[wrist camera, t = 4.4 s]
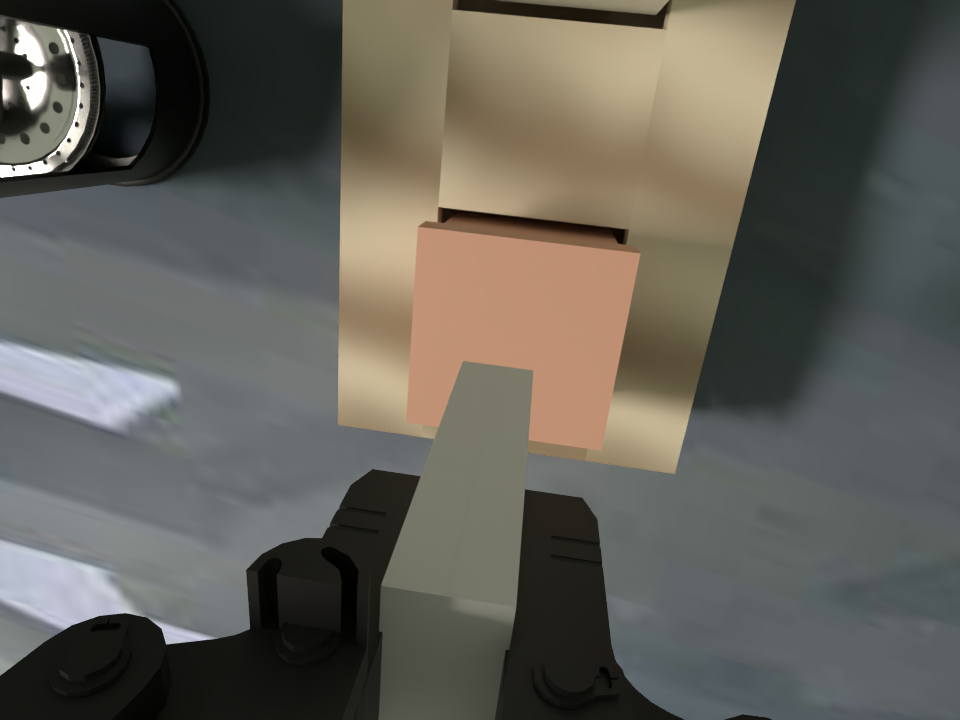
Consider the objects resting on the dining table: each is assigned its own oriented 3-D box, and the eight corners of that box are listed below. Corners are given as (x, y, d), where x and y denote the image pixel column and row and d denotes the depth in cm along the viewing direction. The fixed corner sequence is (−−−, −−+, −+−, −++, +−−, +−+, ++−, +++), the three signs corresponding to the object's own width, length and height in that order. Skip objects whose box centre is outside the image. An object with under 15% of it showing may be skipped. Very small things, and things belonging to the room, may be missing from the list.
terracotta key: (451, 202, 24) (417, 227, 18) (618, 221, 23) (640, 253, 17) (439, 356, 26) (406, 422, 20) (590, 376, 26) (601, 450, 20)
